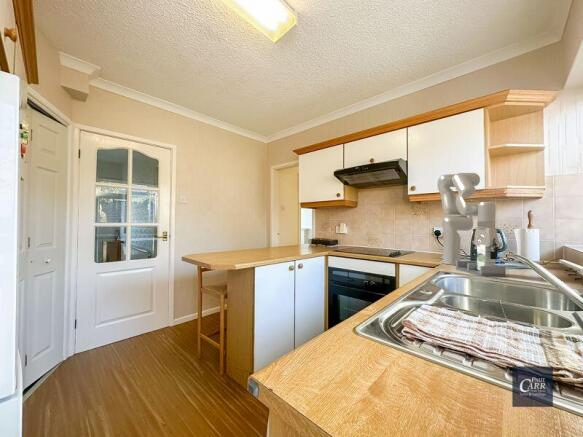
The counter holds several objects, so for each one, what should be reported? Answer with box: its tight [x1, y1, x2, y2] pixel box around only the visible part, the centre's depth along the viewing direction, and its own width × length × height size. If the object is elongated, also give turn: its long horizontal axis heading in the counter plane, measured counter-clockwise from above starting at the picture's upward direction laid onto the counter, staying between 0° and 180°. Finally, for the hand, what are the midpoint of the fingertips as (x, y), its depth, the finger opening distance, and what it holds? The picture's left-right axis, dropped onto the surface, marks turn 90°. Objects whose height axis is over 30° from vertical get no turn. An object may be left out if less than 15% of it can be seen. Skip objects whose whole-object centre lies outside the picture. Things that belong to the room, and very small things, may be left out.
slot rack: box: [455, 260, 507, 277], centre depth 132 cm, size 17×13×5 cm
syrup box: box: [476, 245, 496, 271], centre depth 128 cm, size 6×6×14 cm
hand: (485, 257), depth 128 cm, fingers open, 9 cm apart
